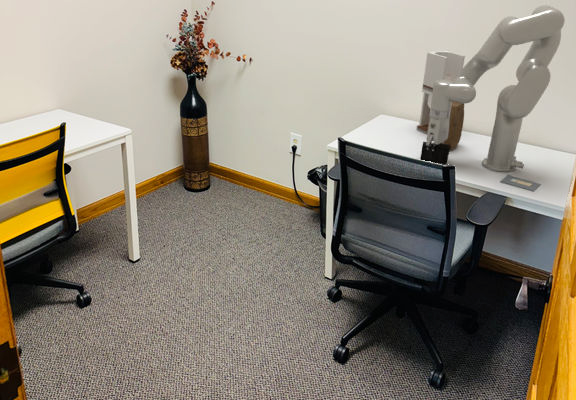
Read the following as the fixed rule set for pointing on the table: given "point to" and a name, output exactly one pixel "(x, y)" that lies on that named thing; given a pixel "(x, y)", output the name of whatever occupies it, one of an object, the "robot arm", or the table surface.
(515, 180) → the card
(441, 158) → the digital camera
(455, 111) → the brown rounded lump
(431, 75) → the toilet paper holder
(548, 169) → the table surface
